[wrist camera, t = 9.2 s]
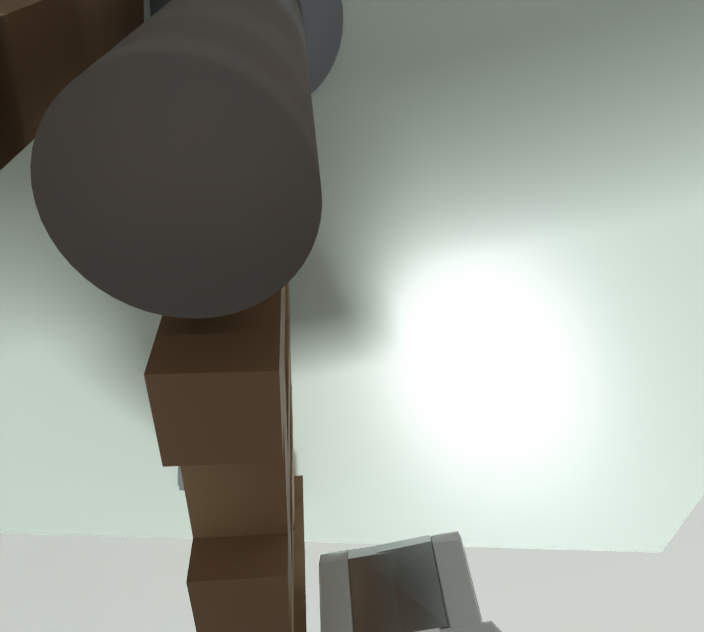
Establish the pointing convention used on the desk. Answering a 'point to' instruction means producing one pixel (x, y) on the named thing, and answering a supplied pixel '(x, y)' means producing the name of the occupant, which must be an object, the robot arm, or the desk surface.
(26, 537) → the desk surface
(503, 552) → the desk surface
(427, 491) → the card
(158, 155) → the fence panel with post
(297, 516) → the fence gate
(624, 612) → the desk surface
